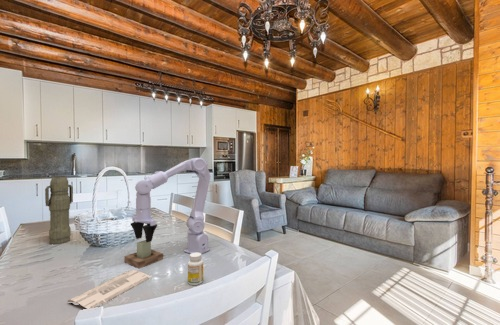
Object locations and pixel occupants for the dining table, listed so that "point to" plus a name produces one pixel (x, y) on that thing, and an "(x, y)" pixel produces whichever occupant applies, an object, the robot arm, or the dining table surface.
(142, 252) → the peg
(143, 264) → the socket block
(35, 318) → the dining table surface
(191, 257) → the supplement bottle
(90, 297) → the newspaper
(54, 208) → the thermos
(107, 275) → the dining table surface
